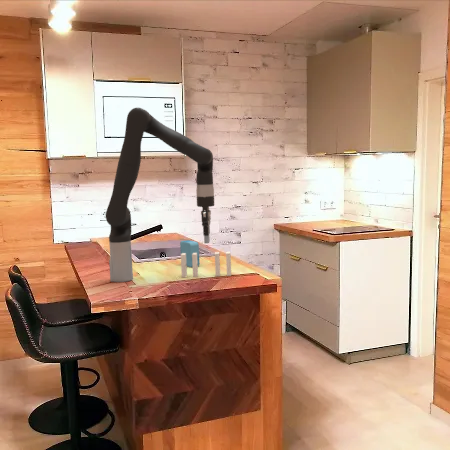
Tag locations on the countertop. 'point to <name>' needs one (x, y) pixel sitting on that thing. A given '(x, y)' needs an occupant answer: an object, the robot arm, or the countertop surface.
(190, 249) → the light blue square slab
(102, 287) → the countertop surface
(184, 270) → the domino
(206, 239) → the domino
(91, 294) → the countertop surface
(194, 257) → the domino
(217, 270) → the domino
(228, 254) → the domino
